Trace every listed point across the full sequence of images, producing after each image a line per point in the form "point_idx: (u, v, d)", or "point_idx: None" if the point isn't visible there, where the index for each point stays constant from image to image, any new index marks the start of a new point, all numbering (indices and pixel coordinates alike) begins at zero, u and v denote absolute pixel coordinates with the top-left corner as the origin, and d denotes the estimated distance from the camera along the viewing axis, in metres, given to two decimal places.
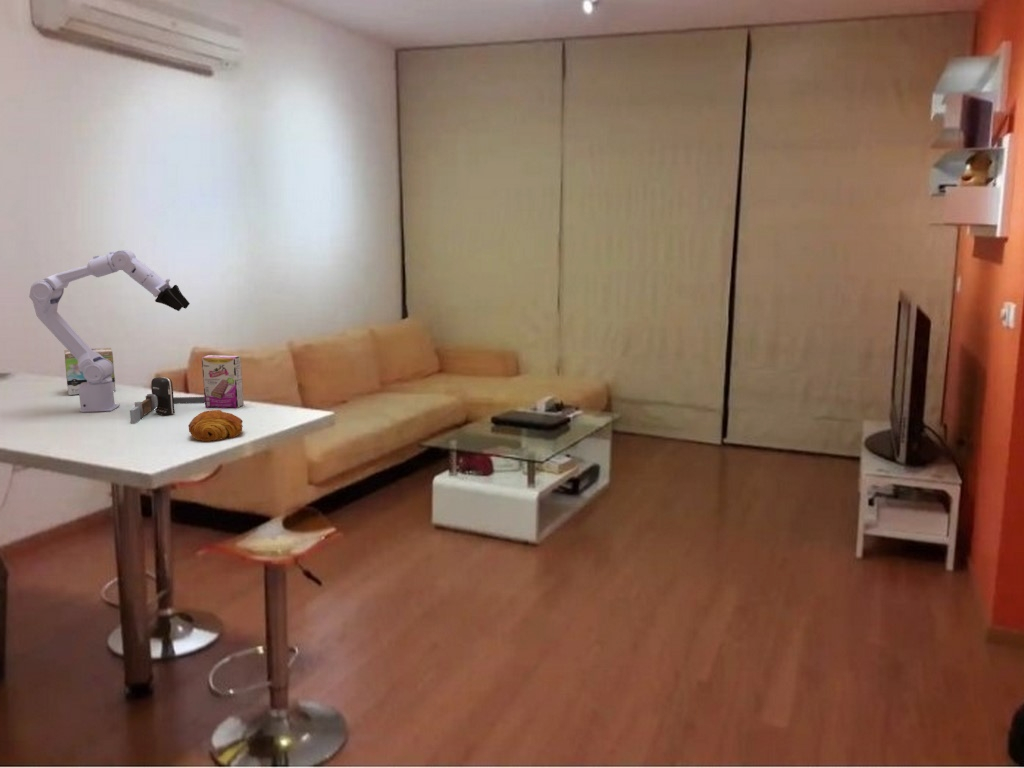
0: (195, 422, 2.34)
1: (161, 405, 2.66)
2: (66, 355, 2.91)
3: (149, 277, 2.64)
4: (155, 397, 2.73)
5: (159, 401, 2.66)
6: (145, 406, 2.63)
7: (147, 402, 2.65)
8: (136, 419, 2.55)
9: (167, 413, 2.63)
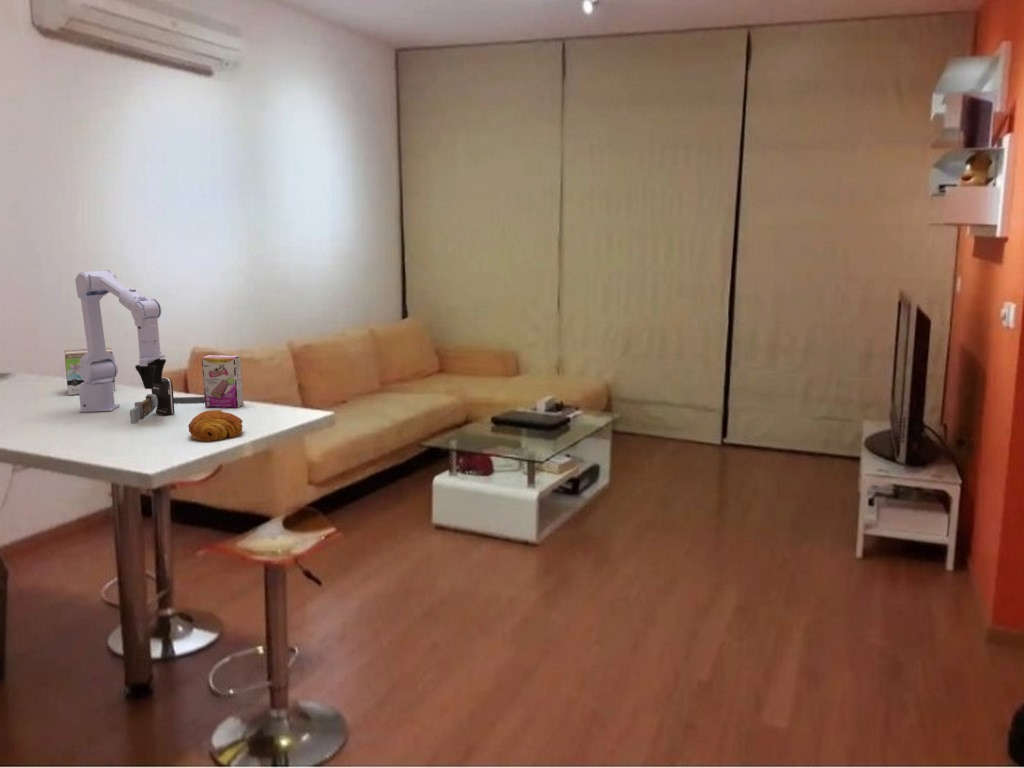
0: (195, 422, 2.34)
1: (161, 405, 2.66)
2: (66, 355, 2.91)
3: (150, 343, 2.51)
4: (155, 397, 2.73)
5: (159, 401, 2.66)
6: (145, 406, 2.63)
7: (147, 402, 2.65)
8: (136, 419, 2.55)
9: (167, 413, 2.63)
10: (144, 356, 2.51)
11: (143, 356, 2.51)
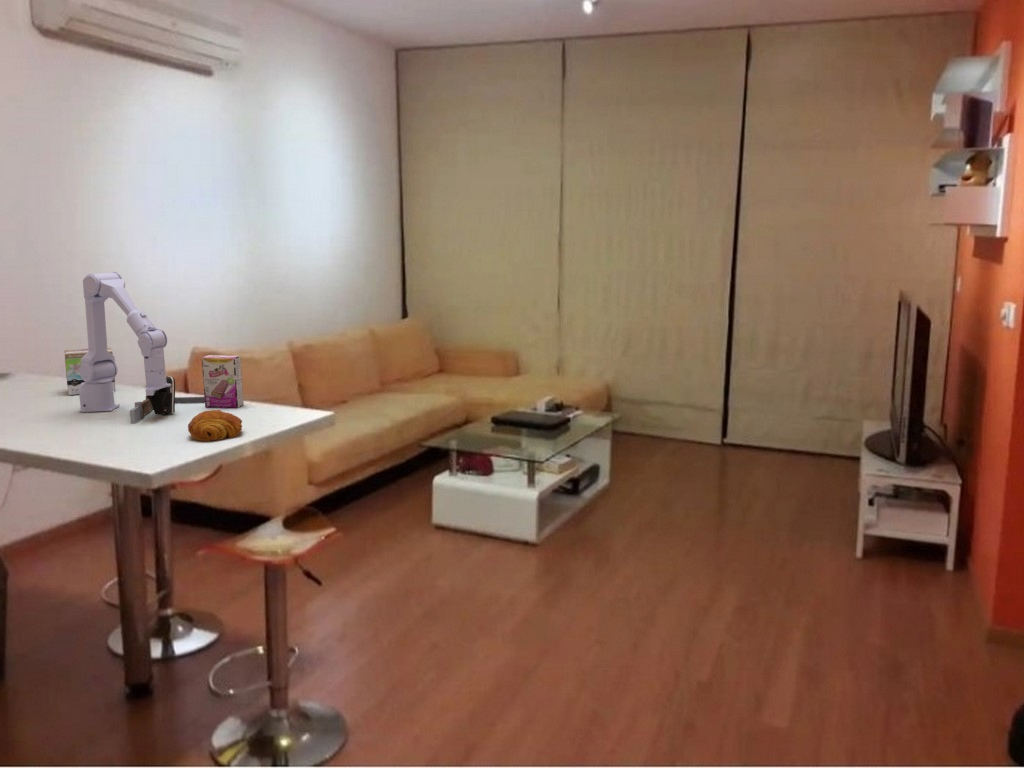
0: (194, 422, 2.34)
1: None
2: (66, 355, 2.91)
3: (157, 373, 2.56)
4: None
5: None
6: (145, 406, 2.63)
7: (147, 402, 2.65)
8: (136, 419, 2.55)
9: (167, 411, 2.63)
10: (150, 385, 2.56)
11: (149, 385, 2.56)
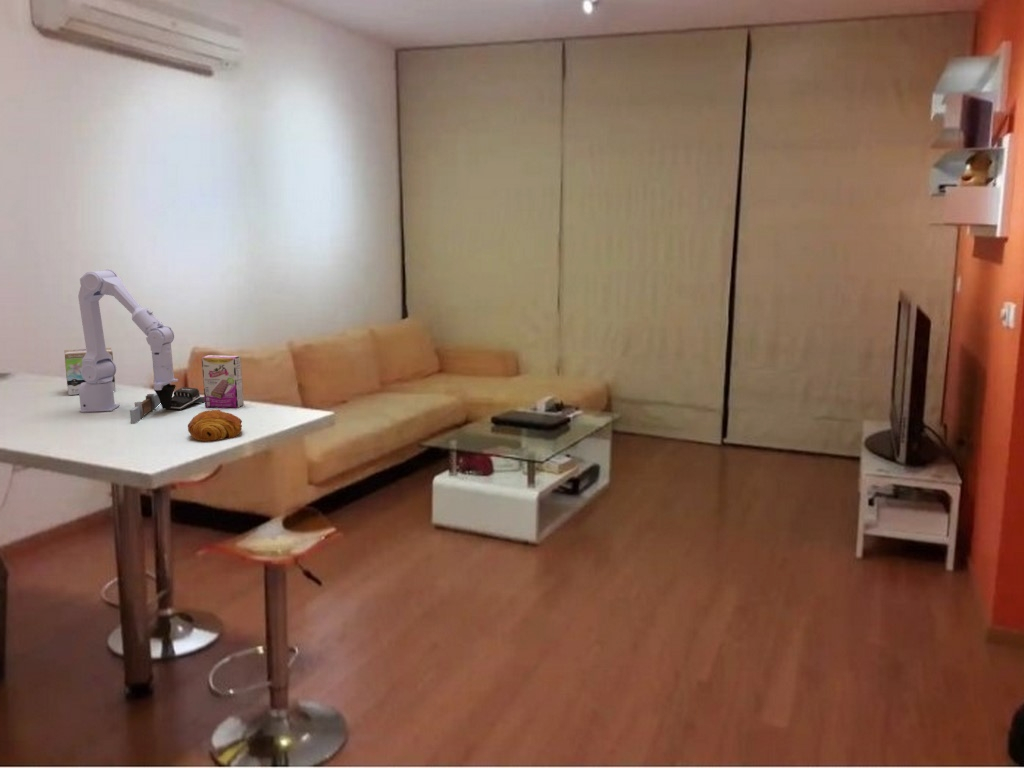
0: (194, 422, 2.34)
1: None
2: (66, 355, 2.91)
3: (164, 368, 2.64)
4: (155, 397, 2.73)
5: (172, 399, 2.74)
6: (145, 406, 2.63)
7: (147, 402, 2.65)
8: (136, 419, 2.55)
9: (179, 403, 2.70)
10: (158, 380, 2.64)
11: (157, 380, 2.64)
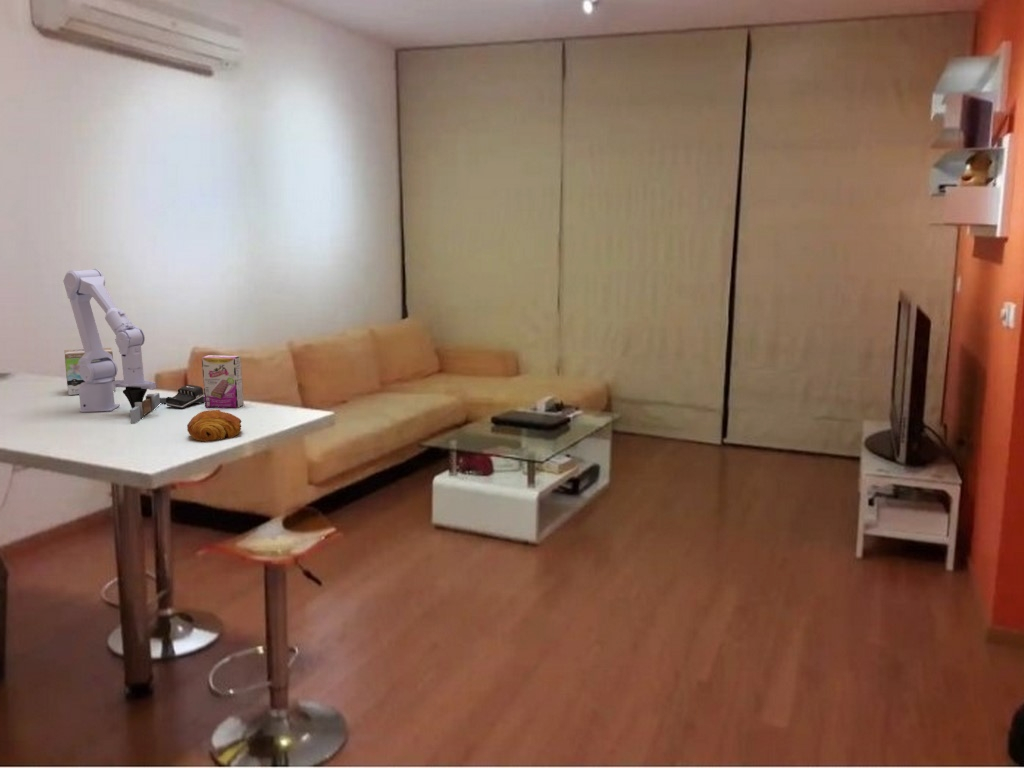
0: (194, 422, 2.34)
1: None
2: (66, 355, 2.91)
3: None
4: (155, 397, 2.73)
5: (175, 397, 2.76)
6: (145, 406, 2.63)
7: (147, 402, 2.65)
8: (136, 419, 2.55)
9: (182, 401, 2.72)
10: None
11: None
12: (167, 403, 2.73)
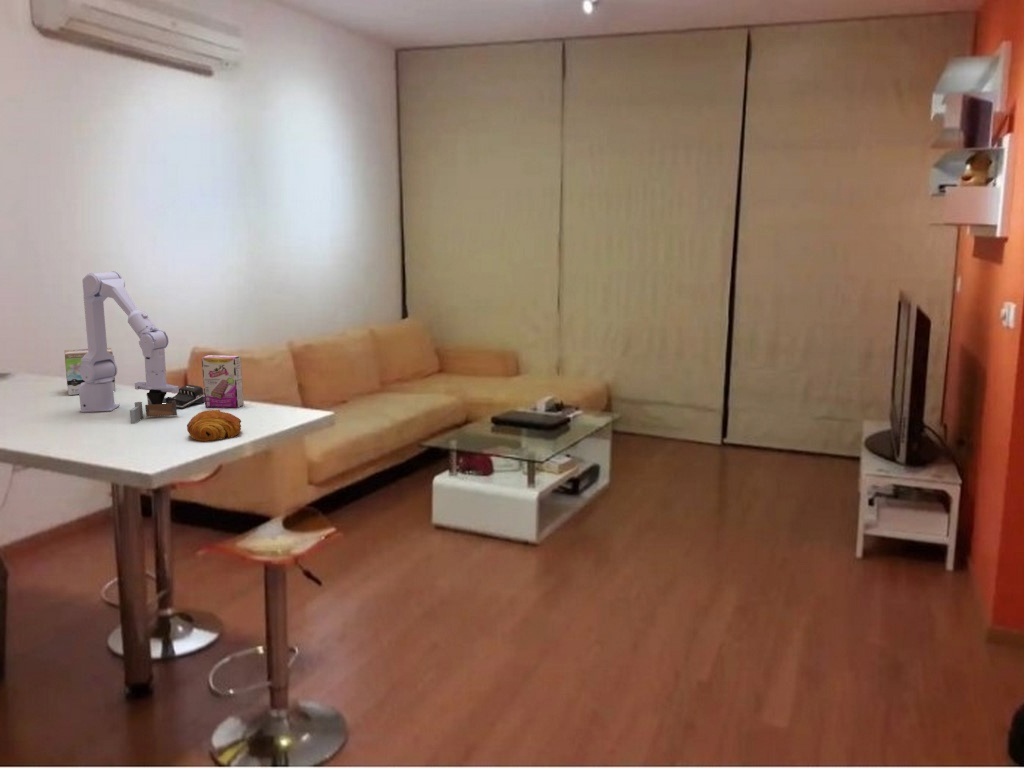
0: (193, 422, 2.34)
1: None
2: (66, 355, 2.91)
3: None
4: None
5: (175, 397, 2.76)
6: (154, 409, 2.60)
7: (161, 406, 2.60)
8: (136, 419, 2.55)
9: (182, 401, 2.72)
10: None
11: None
12: None
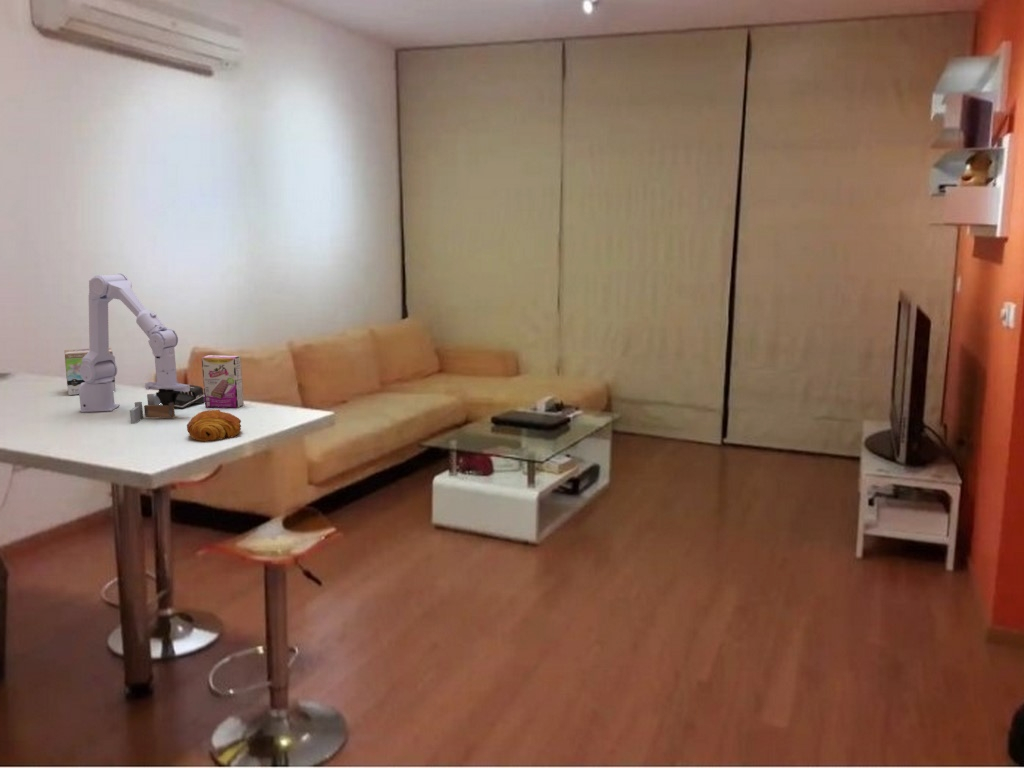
0: (193, 422, 2.34)
1: (176, 399, 2.75)
2: (66, 355, 2.91)
3: None
4: (155, 397, 2.73)
5: None
6: (152, 410, 2.58)
7: (159, 407, 2.58)
8: (136, 419, 2.55)
9: (182, 401, 2.72)
10: None
11: None
12: None
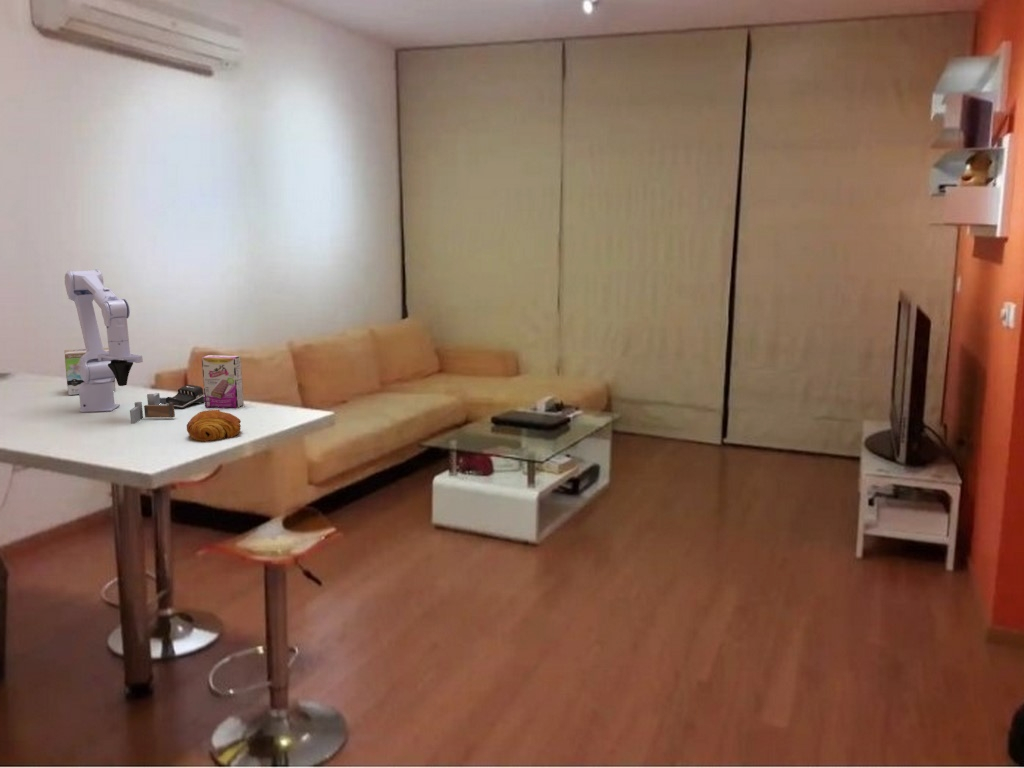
0: (193, 422, 2.34)
1: None
2: (66, 355, 2.91)
3: None
4: (155, 397, 2.73)
5: (175, 397, 2.76)
6: (152, 410, 2.58)
7: (159, 407, 2.58)
8: (136, 419, 2.55)
9: (182, 401, 2.72)
10: None
11: None
12: (167, 403, 2.73)
